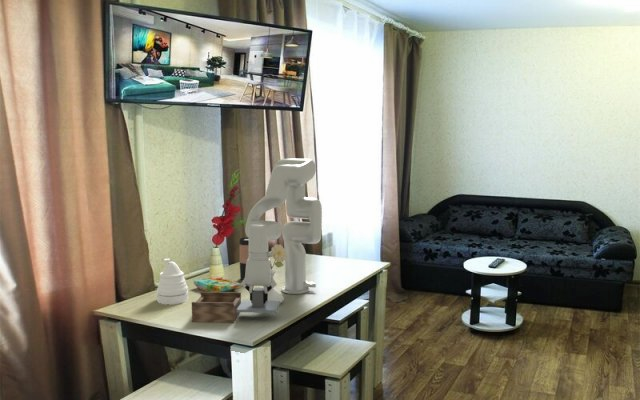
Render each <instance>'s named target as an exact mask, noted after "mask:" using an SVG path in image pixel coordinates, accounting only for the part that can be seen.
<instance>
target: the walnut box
mask: <svg viewBox="0 0 640 400" xmlns="http://www.w3.org/2000/svg"><path fill="white" fill-rule="evenodd" d="M241 302H242V292H234V291H230V292H208V291H201V292H200V297H198V299H197V300H196V301H192V302H191V319H192V320H191V321H192V323H230V324H231V323H233V324H234V323H235V321H236V320H237V319H238V317H239V315H240V314H241V312H237V308H238V307H239V305H240V304H241Z"/></svg>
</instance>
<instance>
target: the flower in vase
mask: <svg viewBox="0 0 640 400" xmlns="http://www.w3.org/2000/svg"><path fill="white" fill-rule="evenodd" d="M270 253H272V258H273V260H274V262H273V264H272V277H273V278H274V276H275V274H276V272H277V270H275V269H274V266H275V267H277V268H281V267H283V266H284V264H283V262H284V261H285V259H287V257H286V256H287V254H286V253H287V252H286V250H285V247H283V245H282V244H280V243H279V244H277V243H275V245H274V246H272V247H271V252H270ZM270 285H272V283H271V284H270ZM270 285H268V287H269V286H270ZM284 300H285V298H284V296H283V295H282V294H281V293H280V292H278V291H277V290H276V289H275V287H274V288H272V289H271V290H270V291H269V292H268V301H280V304H281V303H283V302H284Z"/></svg>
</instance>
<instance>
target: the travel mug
mask: <svg viewBox="0 0 640 400" xmlns="http://www.w3.org/2000/svg"><path fill="white" fill-rule="evenodd" d="M247 259H249V237H248V236H246V237H241V238H239V273H240V281H241V282H242V281H243V280H244V278H245V272H246V263H247Z"/></svg>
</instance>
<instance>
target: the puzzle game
mask: <svg viewBox="0 0 640 400" xmlns="http://www.w3.org/2000/svg"><path fill="white" fill-rule="evenodd" d="M193 284H194V285H195V287H196V288H197V289H199V290H202V291H204V292H234V291H235V290H236V289H238V288H241V287H242V286H241V282H240V283H239V282H236V281H233V280H230V279H228V278H223V277H221V276H218V275H214V276H209V277H203V278H201V279H195V280H193Z"/></svg>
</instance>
